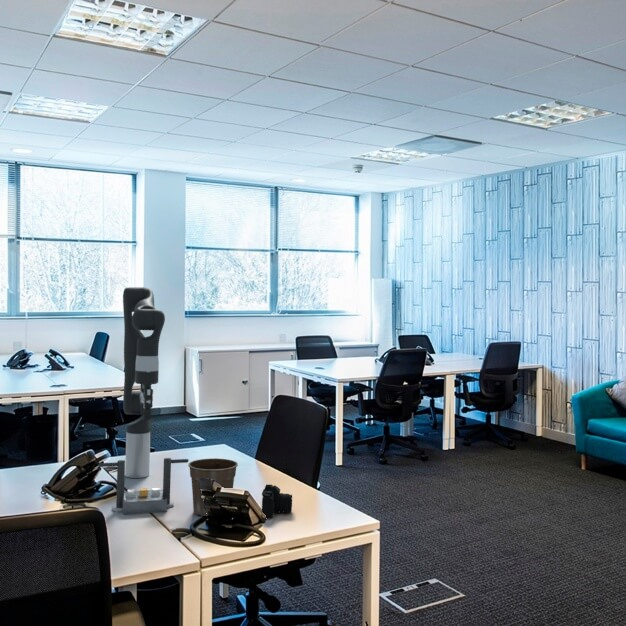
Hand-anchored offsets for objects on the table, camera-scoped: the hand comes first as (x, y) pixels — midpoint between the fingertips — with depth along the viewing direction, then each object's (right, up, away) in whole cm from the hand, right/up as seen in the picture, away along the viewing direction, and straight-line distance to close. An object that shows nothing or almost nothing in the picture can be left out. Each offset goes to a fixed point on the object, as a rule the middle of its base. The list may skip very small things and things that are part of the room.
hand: (145, 417), depth 223 cm
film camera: (+44, -32, 0) cm, 54 cm away
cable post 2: (+8, -30, +3) cm, 32 cm away
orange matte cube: (-1, -26, 0) cm, 26 cm away
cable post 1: (-10, -30, -3) cm, 32 cm away
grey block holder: (-1, -30, 0) cm, 30 cm away
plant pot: (+22, -31, -2) cm, 38 cm away
